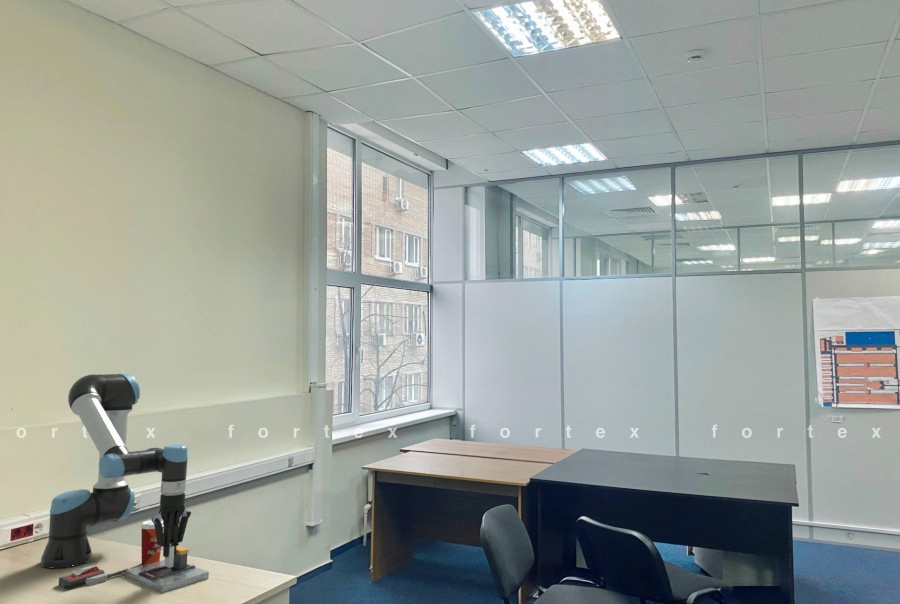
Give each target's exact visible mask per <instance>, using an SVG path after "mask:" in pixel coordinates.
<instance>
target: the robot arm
mask: <svg viewBox="0 0 900 604" xmlns="http://www.w3.org/2000/svg"><path fill="white" fill-rule="evenodd" d="M140 397H141V388H140V384H139V382H138V381H137V378H136V377H135V376H133V375H131V374H124V373H114V374H113V373H112V374H109V373H107V374H94V373H93V374H89V375H88V374H87V375H84V376H82V377H80V378H78V379H77V380H76V381H75V382H74V383H73V385H72V386H71V387H70V388H69V391H68V397H67V398H68V399H67V401H68V406H69V407H70V410H71V412H72V413H73V414H74V415H76V416H78V417H79V419H80V421H81V422H82V425H83V427H84V428H85V430H86V432H87V433H88V435H89V437H90V439H91V441H92V442H93V445H94V446H95V448H96V450H97V451H98V453H99V459H98V460H99V461H98V475H97V477H98V478H97V482H96V483H95V484H94V485H93V486H92V492H91V491H90V489H77V490H76V489H74V490H70V491H65V492H62V493H60V494H57V495H56V496H55V497H54V498H53V499H52V501H51V504H50V505H51V506H50V510H49V525H48V526H49V527H48V541H47V544H46V546H45V548H44V550H43V552H42V554H41V555H42V556H41V558H40V566H41V565H43V566H45V567H53V568H52V569H59V568H58V567H65V568H68V567H67V566H72V565H76V566H78V565H77V564H80V565H82V564H81V563H83V564H85V563H84V562H86V561H88V560H89V559H90V560H91V559H92V556H93V553H92V548H91V543H90V541H89V538H88V529H89V527H94V526H99V525H103V524H108V523H115V522H118V521H122V520H125V519H127V518H128V517H129V516H130V515H131V513H132V512H133V510H134V508H135V503H136V497H135V496H136V495H135V494H134V493H135V491H134V490H133V488H132V487H130V486H129V482H128V481H127V480H126V479H125V477H127V476H132V475H144V474H149V473H155V472H157V473H161V483H160V484H161V485H160V493H161V494H160V499H159V502H160V503H159V507H160V508H159V511H158V514H157V515H156V516H153V517H152V518H151V519H150V520H152V522H153V523H154V526H155V532H156V538H157V543H158V545H159V546H161V548H162V556H163V558H164V560H165V565H164V566H166V567H168V568H170V567H173V562H174V555H176V547H178V546H180V545H179V543H182V542H183V540H184V538H185V537H184V535H185V531H186V529H187V526H188V521H189V518H190V517H191V515H192V511H190V510H187V509H186V507H185V503H186V493H185V492H186V483H187V472H188V468H187V467H188V459H189V457H188V447H187V445H184V444H169V445H165V446H164V447H163V448H162V447H149V448H147V449H145V450H143V449H142V450H136V451H135V450H134V451H129V449H128V448H127V432H128V415H129V413H131V412H132V410H133V406H134V405H136V404H137V403H138V402H139V399H140ZM161 521H163V525H164V529H162V524H161ZM90 560H89V561H90ZM89 561H88V562H89ZM86 563H87V562H86ZM45 567H44V568H45ZM72 567H73V566H72Z"/></svg>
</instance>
